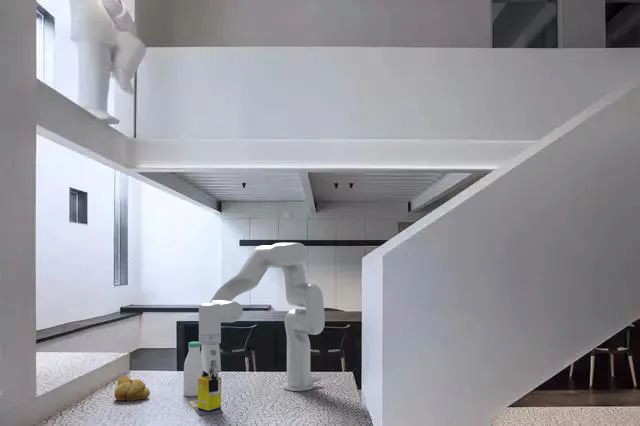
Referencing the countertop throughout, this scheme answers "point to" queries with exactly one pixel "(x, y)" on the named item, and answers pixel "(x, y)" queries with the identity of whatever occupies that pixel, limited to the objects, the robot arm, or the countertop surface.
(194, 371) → the milk bottle
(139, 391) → the bread roll
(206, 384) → the supplement box
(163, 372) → the countertop surface
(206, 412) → the slate mat
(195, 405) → the cream square tile
